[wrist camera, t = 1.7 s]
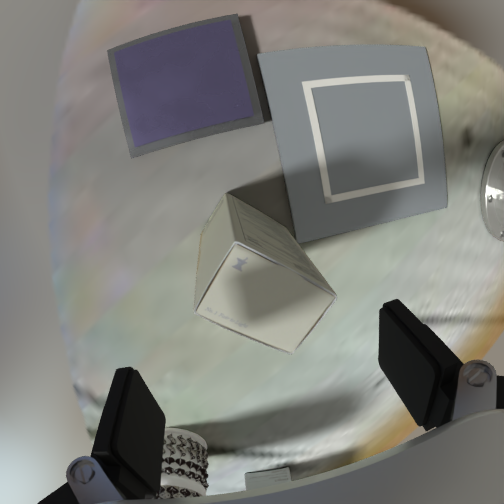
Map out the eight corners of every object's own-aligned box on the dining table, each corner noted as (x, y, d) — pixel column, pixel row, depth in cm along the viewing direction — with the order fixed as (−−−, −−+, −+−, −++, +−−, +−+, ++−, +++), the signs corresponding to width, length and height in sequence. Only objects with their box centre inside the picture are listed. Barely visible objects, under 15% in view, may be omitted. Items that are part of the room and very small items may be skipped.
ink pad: (236, 18, 20) (237, 10, 18) (262, 123, 23) (265, 122, 21) (111, 53, 20) (104, 48, 18) (135, 157, 23) (128, 159, 21)
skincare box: (199, 234, 26) (184, 313, 15) (226, 188, 25) (231, 236, 13) (262, 269, 28) (290, 359, 16) (291, 227, 26) (341, 297, 15)
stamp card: (421, 48, 21) (425, 46, 20) (443, 205, 27) (447, 207, 26) (256, 55, 21) (257, 53, 20) (296, 241, 27) (298, 244, 26)
